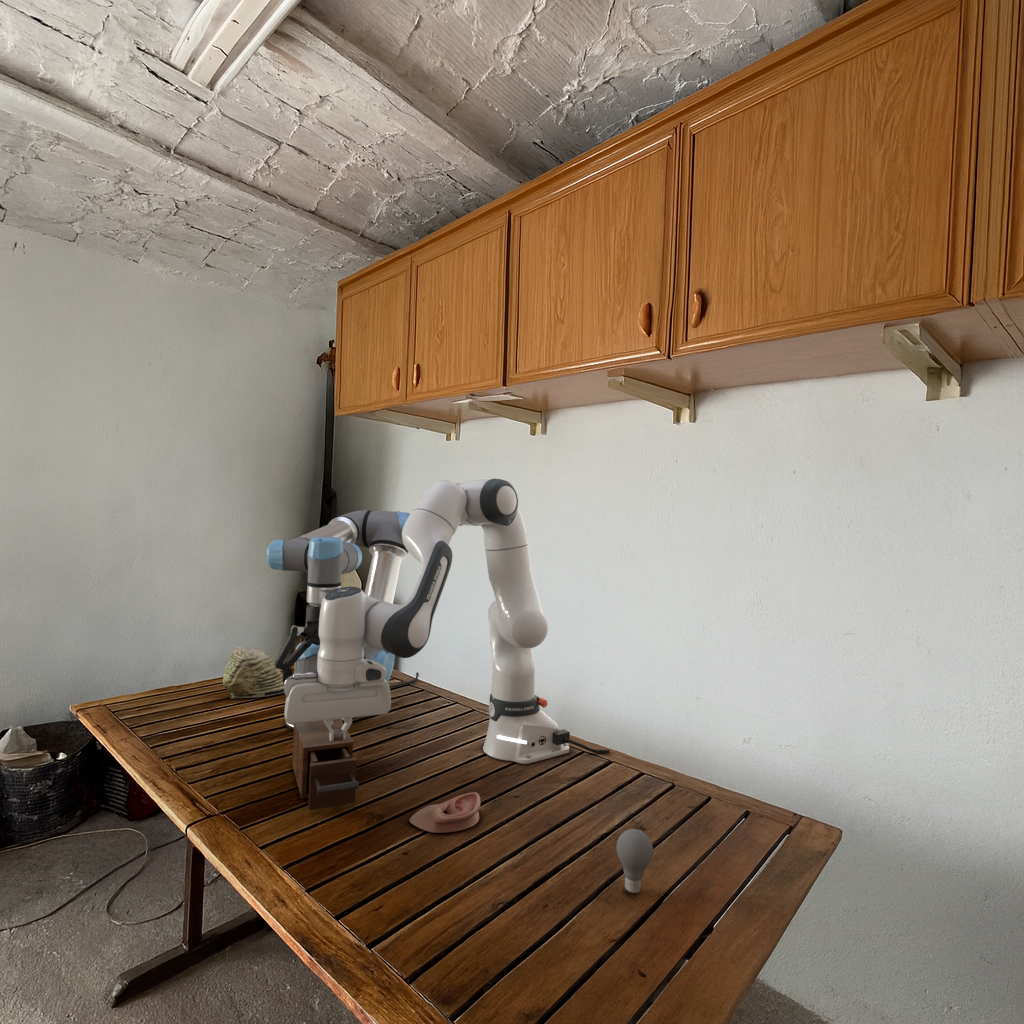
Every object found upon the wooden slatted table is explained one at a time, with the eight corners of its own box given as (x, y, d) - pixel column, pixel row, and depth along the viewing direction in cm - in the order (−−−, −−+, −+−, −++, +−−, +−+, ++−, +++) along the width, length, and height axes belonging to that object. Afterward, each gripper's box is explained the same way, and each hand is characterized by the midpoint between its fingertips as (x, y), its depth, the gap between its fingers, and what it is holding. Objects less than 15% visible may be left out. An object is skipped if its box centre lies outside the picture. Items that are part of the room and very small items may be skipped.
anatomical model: (404, 808, 122) (424, 782, 133) (403, 828, 122) (423, 801, 133) (470, 818, 119) (485, 791, 131) (469, 838, 119) (484, 810, 131)
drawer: (360, 816, 125) (362, 771, 124) (313, 824, 121) (315, 777, 121) (340, 769, 145) (342, 731, 145) (299, 775, 141) (300, 735, 141)
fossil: (218, 695, 195) (220, 647, 195) (278, 685, 208) (279, 640, 207) (228, 703, 189) (230, 653, 188) (289, 692, 201) (290, 645, 201)
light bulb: (610, 879, 108) (613, 822, 108) (644, 879, 109) (647, 822, 109) (619, 902, 102) (622, 840, 102) (655, 901, 103) (658, 840, 103)
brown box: (351, 792, 137) (353, 741, 136) (301, 799, 132) (303, 747, 132) (336, 759, 153) (338, 714, 153) (292, 765, 149) (293, 718, 148)
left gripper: (267, 608, 138) (263, 705, 138) (381, 605, 148) (377, 695, 149) (264, 602, 144) (261, 695, 145) (373, 599, 155) (370, 686, 155)
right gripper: (286, 678, 118) (283, 752, 118) (394, 670, 126) (391, 739, 127) (283, 669, 123) (280, 740, 124) (386, 662, 132) (384, 728, 132)
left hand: (320, 695), depth 147 cm, fingers open, 13 cm apart
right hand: (337, 739), depth 125 cm, fingers closed
